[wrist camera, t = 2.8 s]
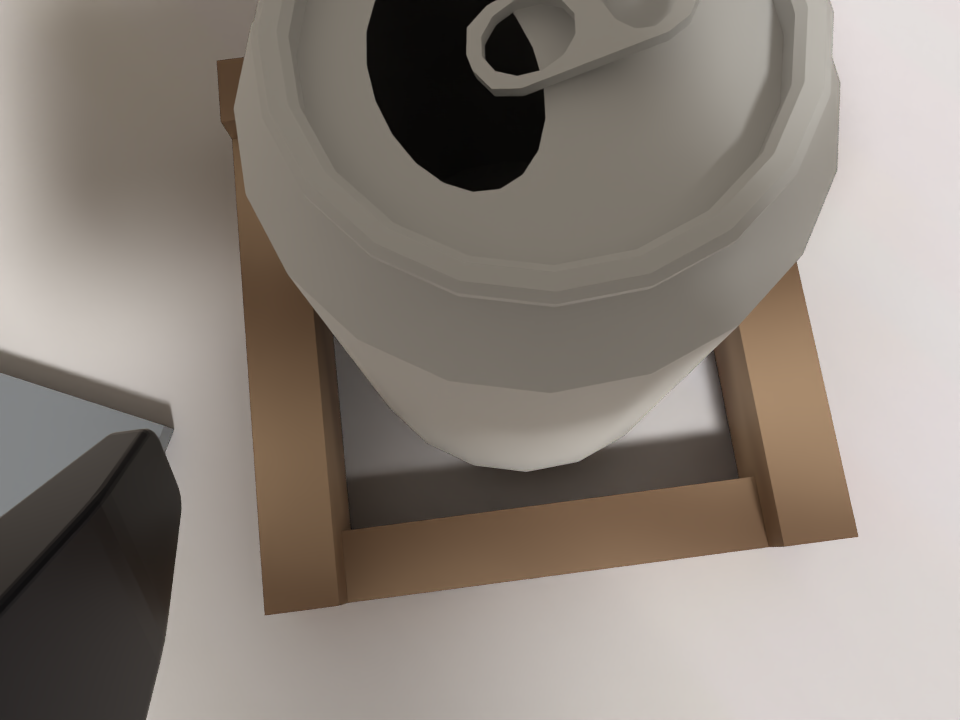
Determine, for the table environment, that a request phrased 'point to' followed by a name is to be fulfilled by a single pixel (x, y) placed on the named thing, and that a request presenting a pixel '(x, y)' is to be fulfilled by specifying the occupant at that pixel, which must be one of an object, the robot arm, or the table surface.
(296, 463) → the brown square frame
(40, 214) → the table surface
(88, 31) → the table surface
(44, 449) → the coaster
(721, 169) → the can
